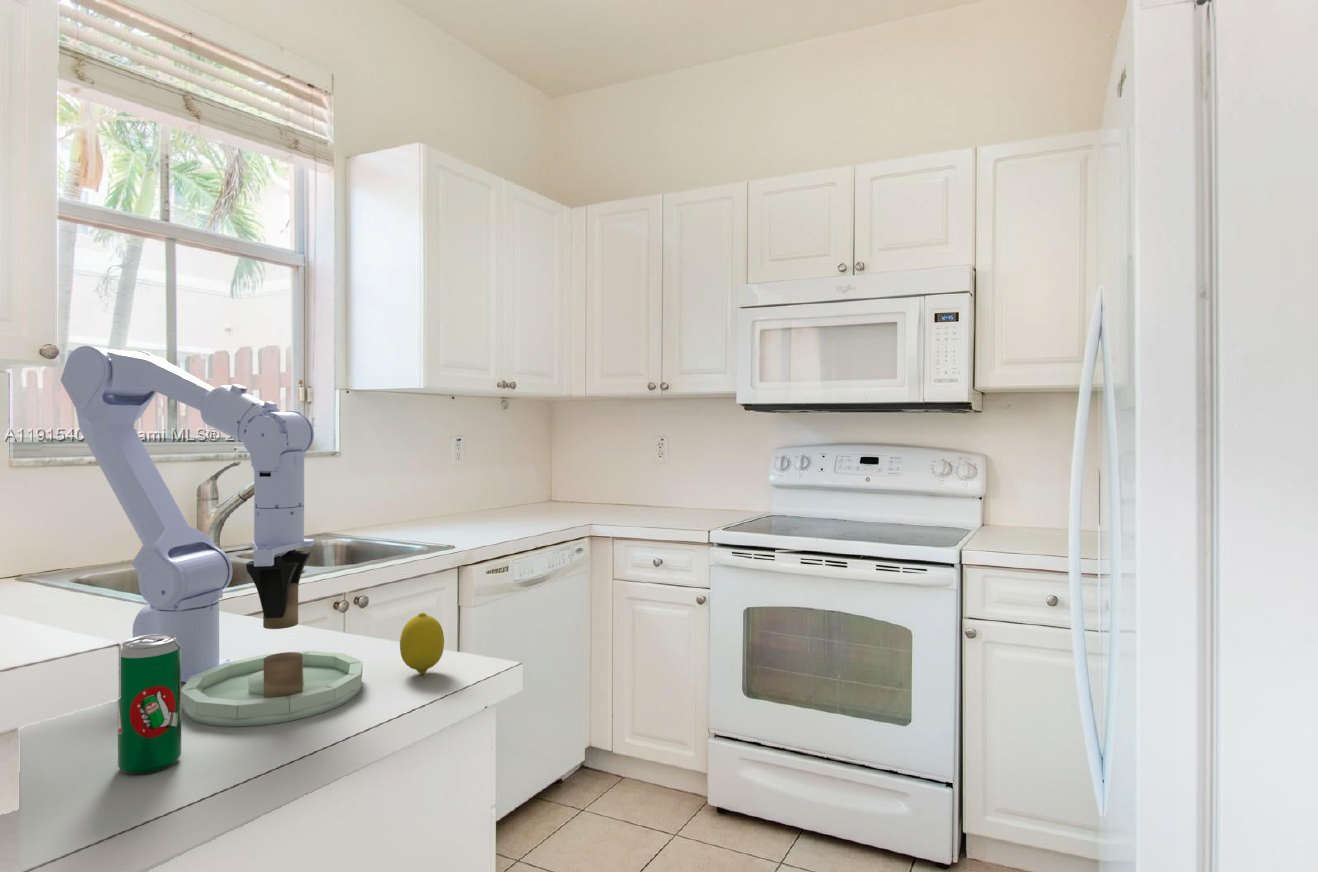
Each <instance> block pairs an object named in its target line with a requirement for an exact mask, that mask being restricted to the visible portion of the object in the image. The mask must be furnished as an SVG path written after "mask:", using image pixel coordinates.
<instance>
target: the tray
mask: <svg viewBox="0 0 1318 872" xmlns="http://www.w3.org/2000/svg"><path fill="white" fill-rule="evenodd" d="M296 652H297V653H301V654H302V655H303V692H302V693H298V694H294V695H291V696H285V697H275V698H265V699H264V658H266V657H267V656H270V655H273V654H274V653H267V654H261V655H257V656H256V655H255V656H251V657H247V658H242V659H237V660H235V661H232V662H227V663H223V664H221V665H218V666H216V667H213V668H211V669H208V670H206V671H203V672H201V673H199V674H196V675H194V676H191V678H190V679H189V680H188V681H187V682H185V684H184V685H183V686H182V687H181V706H183V713H184V715H185V716H186V718H188V719H190V720H192V721H194V722H197V723H198V724H199V723H200V724H204V725H209V726H216V727H217V726H218V727H256V726H257V727H258V726H264V725H265V726H266V725H267V726H268V725H274V724H281V723H287V722H292V721H296V720H301V719H305V718H309V717H313V716H315V715H319V714H322V713H325V712H328V711H330V710H334V709H335V708H339V707H340V706H342V705H344V704H346V703H348V702H350V701H351V700H353V699H354V698H355V697H356V696H358V695H359V694H360V692H361V689H362V686H363V685H362V678H363V661H362V660H360V659H358V658H354V657H352V656H350V655H348V654H346V653H342V652H341V653H340V652H330V651H329V652H328V651H317V650H316V651H315V650H303V651H302V650H301V651H296ZM278 653H279V652H277V653H275V654H278Z"/></svg>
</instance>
